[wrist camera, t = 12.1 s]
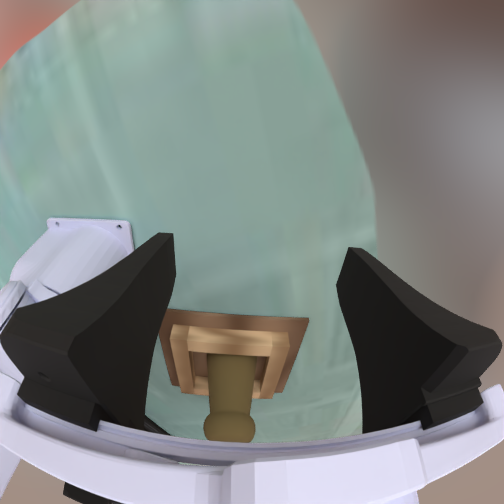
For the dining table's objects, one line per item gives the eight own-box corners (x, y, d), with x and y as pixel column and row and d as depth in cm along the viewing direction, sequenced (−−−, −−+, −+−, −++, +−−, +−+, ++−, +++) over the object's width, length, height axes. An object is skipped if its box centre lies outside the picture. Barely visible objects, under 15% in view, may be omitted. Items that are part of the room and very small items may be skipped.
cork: (259, 370, 33) (261, 450, 23) (211, 372, 33) (205, 450, 24) (255, 341, 29) (257, 434, 20) (201, 344, 30) (190, 433, 20)
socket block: (172, 383, 36) (170, 396, 34) (154, 307, 27) (149, 324, 25) (281, 390, 37) (283, 404, 35) (308, 318, 28) (312, 335, 26)
